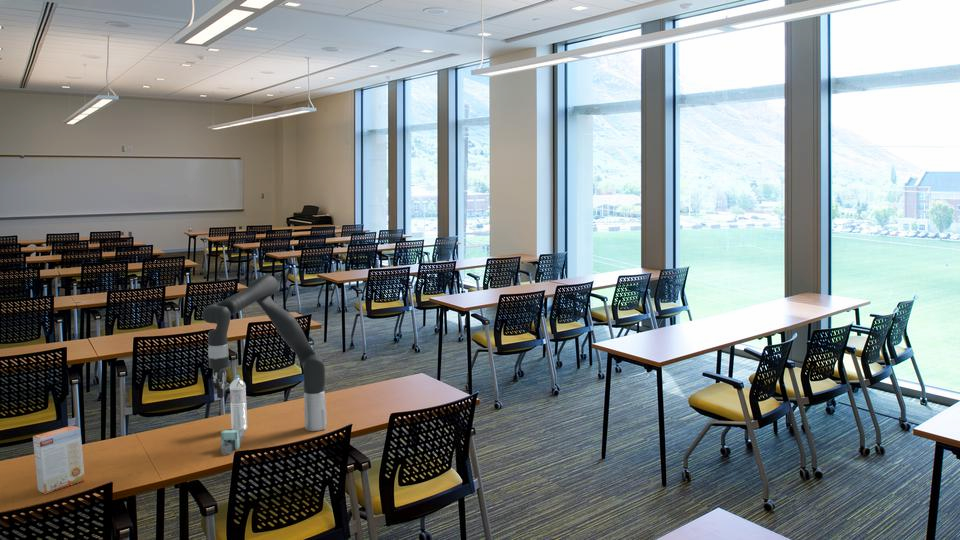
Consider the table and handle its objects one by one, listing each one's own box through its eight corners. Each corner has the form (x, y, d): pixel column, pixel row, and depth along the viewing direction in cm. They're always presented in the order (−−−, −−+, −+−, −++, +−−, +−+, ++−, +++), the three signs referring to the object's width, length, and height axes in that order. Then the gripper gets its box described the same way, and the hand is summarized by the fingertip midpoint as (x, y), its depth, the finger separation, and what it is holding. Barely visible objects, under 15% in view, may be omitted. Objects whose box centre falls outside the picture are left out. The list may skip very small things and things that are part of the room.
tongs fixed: (230, 454, 281) (229, 444, 281) (221, 454, 281) (220, 444, 281) (244, 437, 301) (243, 428, 301) (235, 437, 301) (235, 428, 301)
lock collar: (237, 449, 287) (236, 432, 286) (221, 449, 286) (220, 432, 285) (239, 446, 290) (239, 429, 289) (223, 447, 289) (223, 430, 288)
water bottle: (242, 432, 307) (240, 378, 304) (228, 431, 308) (226, 377, 306) (250, 427, 314) (248, 374, 311) (236, 426, 315) (234, 373, 312)
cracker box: (77, 477, 259) (73, 424, 257) (85, 481, 256) (81, 427, 253) (36, 491, 248) (32, 435, 245) (44, 495, 244) (39, 438, 242)
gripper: (214, 351, 280) (216, 393, 282) (203, 359, 267) (205, 402, 269) (233, 351, 280) (235, 392, 282) (222, 359, 267) (225, 402, 269)
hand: (220, 397), depth 276 cm, fingers closed
